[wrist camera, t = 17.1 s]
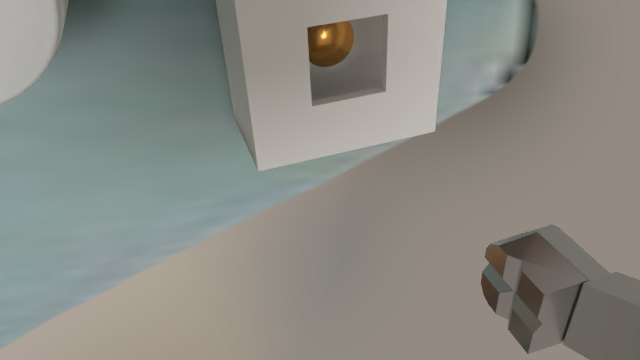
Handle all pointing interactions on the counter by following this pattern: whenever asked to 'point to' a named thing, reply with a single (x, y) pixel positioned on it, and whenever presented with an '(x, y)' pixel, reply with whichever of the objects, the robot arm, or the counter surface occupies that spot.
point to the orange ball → (330, 43)
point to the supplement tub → (28, 41)
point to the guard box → (330, 75)
